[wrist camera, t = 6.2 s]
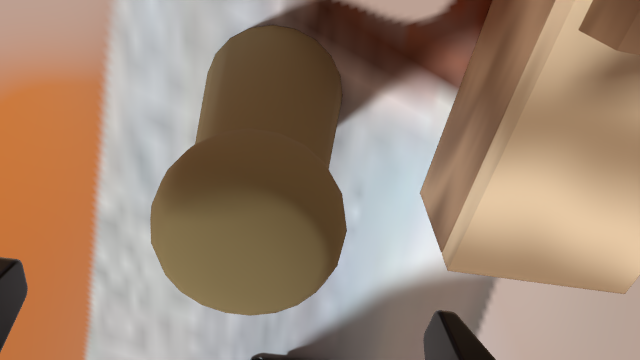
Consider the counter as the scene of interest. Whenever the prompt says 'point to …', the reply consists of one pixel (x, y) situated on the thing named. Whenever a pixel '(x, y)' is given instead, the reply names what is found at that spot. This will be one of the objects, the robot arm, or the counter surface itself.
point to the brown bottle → (256, 179)
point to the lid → (564, 160)
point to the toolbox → (480, 107)
